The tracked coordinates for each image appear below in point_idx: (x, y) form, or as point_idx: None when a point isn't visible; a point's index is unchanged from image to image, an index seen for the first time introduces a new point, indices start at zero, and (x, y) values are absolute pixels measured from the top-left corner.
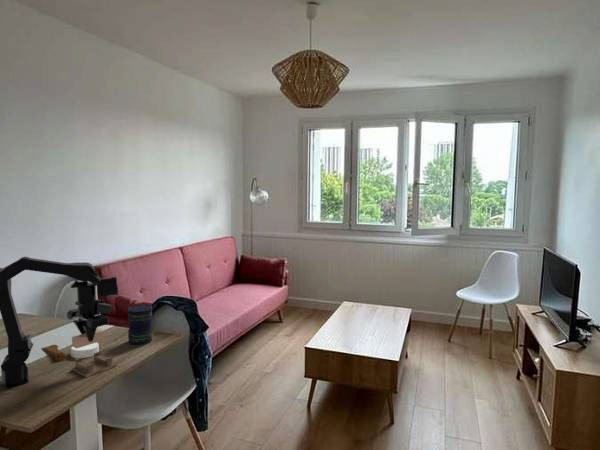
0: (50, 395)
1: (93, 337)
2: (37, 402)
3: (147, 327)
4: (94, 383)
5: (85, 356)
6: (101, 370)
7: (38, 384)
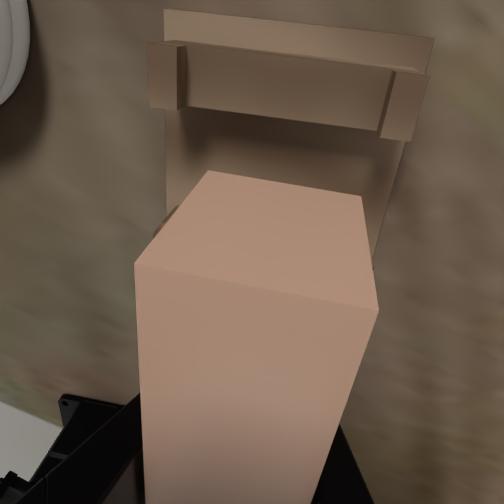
0: (365, 451)
1: (350, 455)
2: (370, 492)
3: None
4: (489, 311)
5: (20, 64)
6: (391, 179)
7: None
